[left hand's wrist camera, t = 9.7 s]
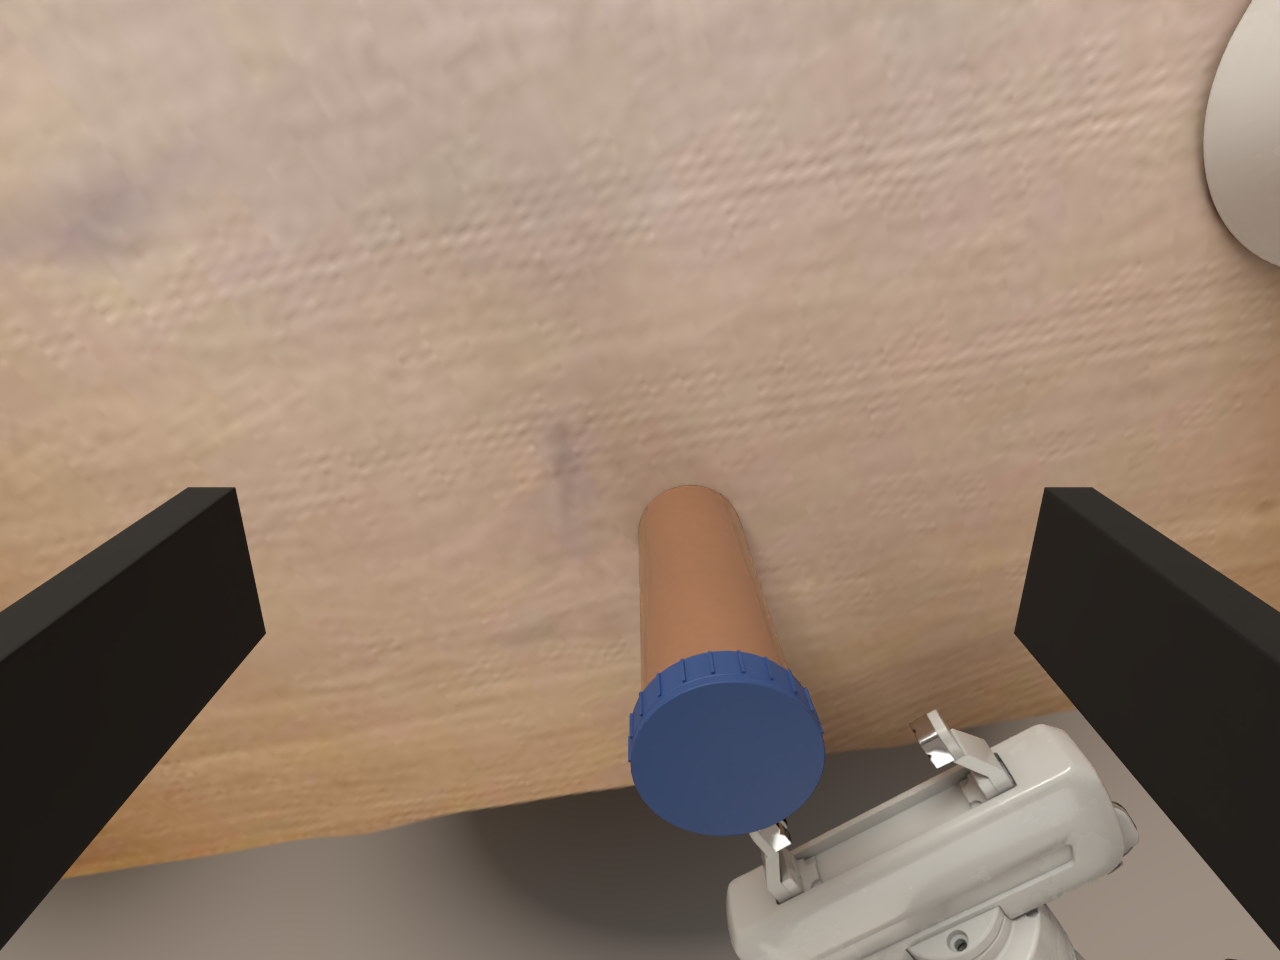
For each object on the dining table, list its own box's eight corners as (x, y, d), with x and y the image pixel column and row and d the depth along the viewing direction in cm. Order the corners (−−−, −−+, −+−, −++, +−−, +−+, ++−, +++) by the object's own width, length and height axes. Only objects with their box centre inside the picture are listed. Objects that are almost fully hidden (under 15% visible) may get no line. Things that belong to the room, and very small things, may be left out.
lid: (778, 815, 26) (787, 854, 25) (607, 778, 26) (605, 816, 24) (843, 673, 24) (857, 706, 23) (658, 628, 24) (660, 659, 22)
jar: (721, 587, 40) (776, 830, 25) (626, 564, 40) (623, 798, 24) (754, 499, 38) (834, 705, 23) (654, 473, 38) (670, 666, 23)
